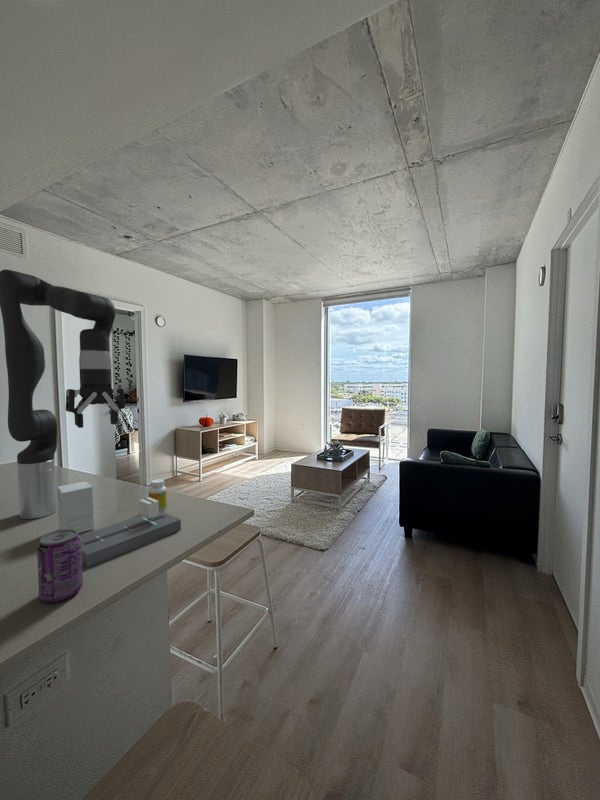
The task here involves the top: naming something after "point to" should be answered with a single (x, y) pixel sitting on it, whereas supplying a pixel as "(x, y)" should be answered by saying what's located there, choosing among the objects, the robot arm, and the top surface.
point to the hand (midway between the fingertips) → (97, 425)
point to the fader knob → (149, 507)
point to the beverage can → (59, 565)
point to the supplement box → (76, 507)
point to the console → (125, 536)
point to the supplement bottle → (159, 493)
